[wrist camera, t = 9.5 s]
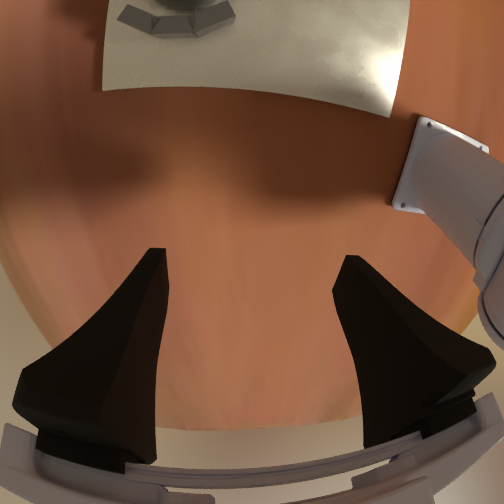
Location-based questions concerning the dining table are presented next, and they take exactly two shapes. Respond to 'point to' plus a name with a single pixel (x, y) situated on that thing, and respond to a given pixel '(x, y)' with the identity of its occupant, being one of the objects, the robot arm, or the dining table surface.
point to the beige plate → (262, 48)
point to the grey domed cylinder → (182, 3)
